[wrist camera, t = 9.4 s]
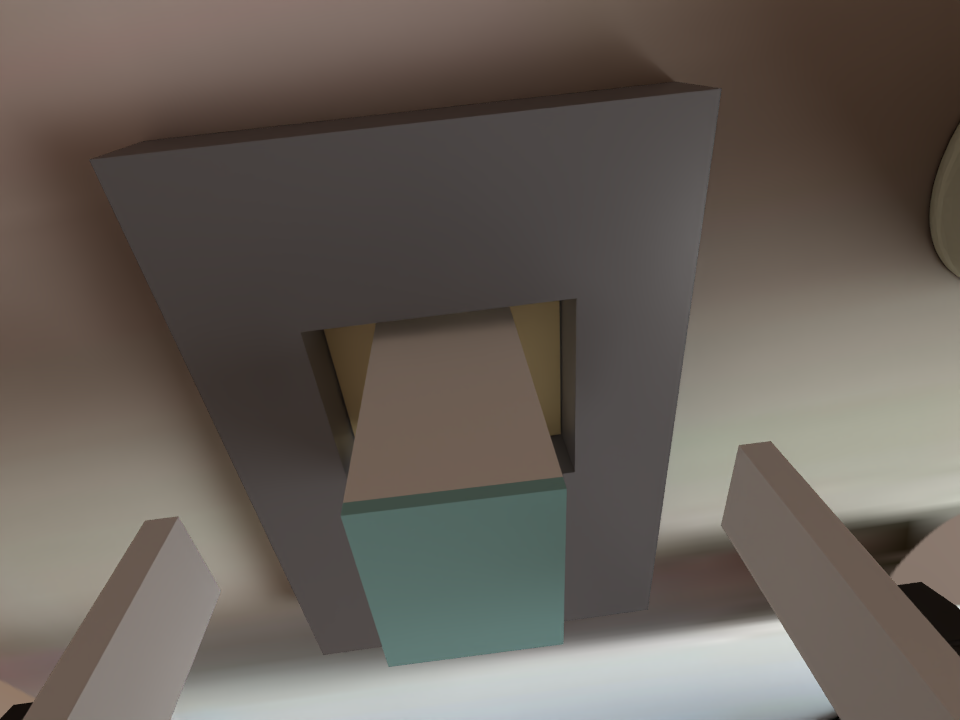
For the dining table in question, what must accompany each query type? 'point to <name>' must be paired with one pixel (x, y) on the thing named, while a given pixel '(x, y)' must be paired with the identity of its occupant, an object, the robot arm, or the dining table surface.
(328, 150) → the socket
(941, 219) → the can
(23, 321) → the dining table surface
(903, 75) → the dining table surface
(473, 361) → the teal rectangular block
